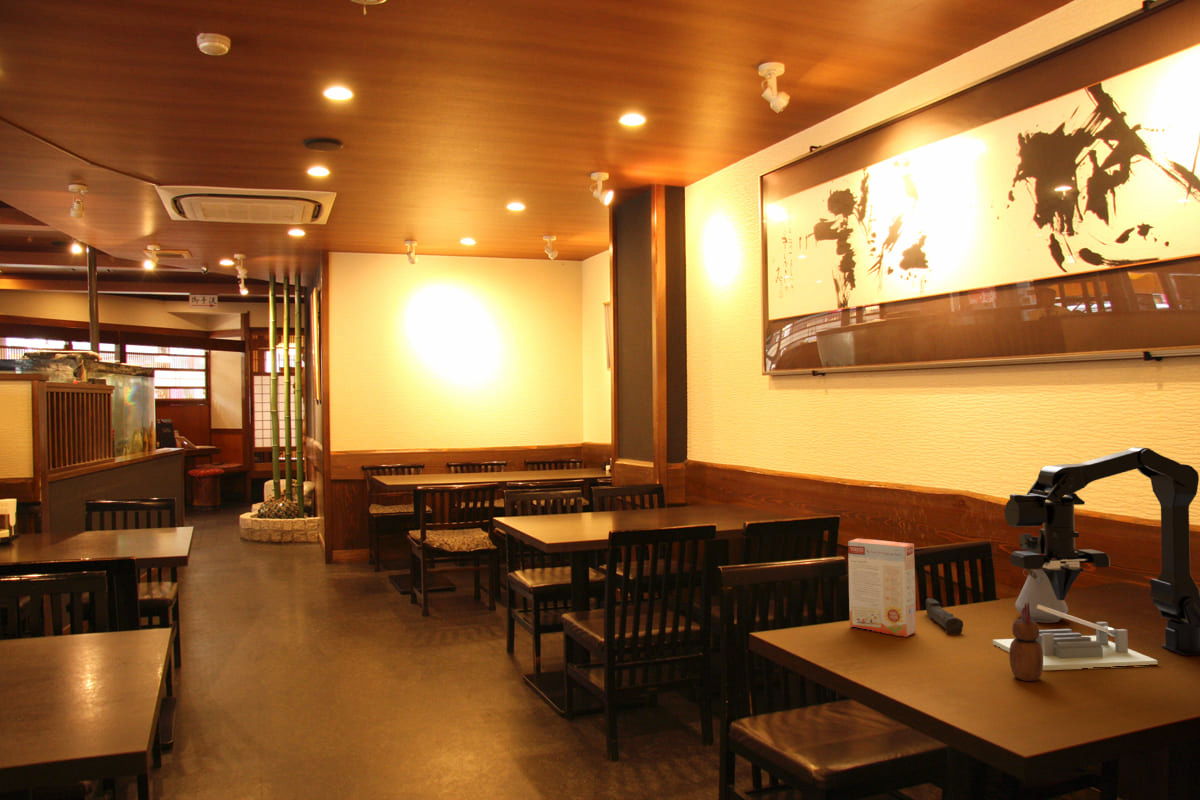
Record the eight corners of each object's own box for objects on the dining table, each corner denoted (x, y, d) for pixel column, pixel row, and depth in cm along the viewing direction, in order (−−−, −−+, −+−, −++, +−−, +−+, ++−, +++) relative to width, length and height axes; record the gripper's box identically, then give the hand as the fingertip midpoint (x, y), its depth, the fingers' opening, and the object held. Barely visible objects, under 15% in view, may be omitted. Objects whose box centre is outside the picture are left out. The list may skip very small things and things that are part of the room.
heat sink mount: (1096, 640, 182) (1095, 614, 182) (1157, 665, 164) (1156, 637, 164) (992, 644, 180) (992, 618, 180) (1043, 670, 162) (1042, 642, 162)
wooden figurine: (1042, 686, 153) (1040, 606, 153) (1008, 681, 156) (1006, 602, 156) (1044, 675, 159) (1043, 598, 159) (1011, 671, 162) (1010, 595, 162)
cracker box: (917, 632, 190) (915, 542, 190) (906, 638, 185) (904, 546, 186) (860, 622, 199) (858, 536, 200) (848, 627, 195) (847, 540, 195)
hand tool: (964, 635, 188) (963, 615, 188) (945, 635, 188) (945, 615, 188) (939, 614, 207) (938, 596, 207) (922, 614, 207) (922, 596, 207)
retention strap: (1107, 633, 175) (1109, 626, 175) (1120, 639, 171) (1122, 631, 171) (1036, 609, 173) (1038, 602, 174) (1047, 614, 169) (1050, 607, 170)
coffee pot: (1020, 610, 208) (1019, 551, 208) (1072, 617, 201) (1070, 556, 201) (1001, 629, 192) (1000, 565, 192) (1057, 637, 184) (1056, 570, 185)
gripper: (1075, 519, 181) (1077, 590, 181) (994, 521, 179) (996, 592, 179) (1111, 526, 170) (1112, 602, 169) (1025, 529, 168) (1026, 605, 168)
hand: (1060, 600), depth 172 cm, fingers closed
